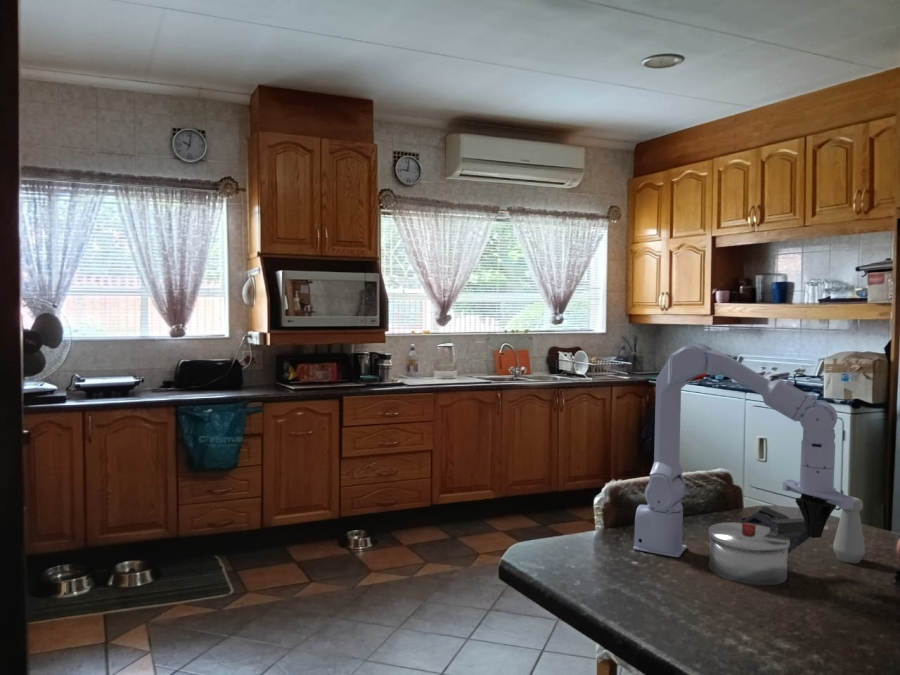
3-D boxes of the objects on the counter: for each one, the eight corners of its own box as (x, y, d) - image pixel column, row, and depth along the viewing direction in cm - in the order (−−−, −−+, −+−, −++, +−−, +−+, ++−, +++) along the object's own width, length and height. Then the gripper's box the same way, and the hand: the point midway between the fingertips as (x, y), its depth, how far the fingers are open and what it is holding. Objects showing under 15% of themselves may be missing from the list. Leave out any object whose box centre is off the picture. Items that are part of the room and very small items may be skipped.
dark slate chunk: (714, 542, 159) (715, 521, 159) (744, 521, 176) (745, 502, 176) (789, 558, 150) (790, 536, 149) (812, 534, 167) (813, 514, 167)
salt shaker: (868, 566, 144) (871, 502, 144) (838, 563, 146) (840, 500, 145) (858, 556, 150) (861, 495, 150) (828, 554, 151) (831, 493, 151)
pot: (782, 591, 130) (784, 558, 130) (702, 575, 137) (703, 544, 137) (792, 559, 147) (793, 530, 147) (720, 546, 154) (721, 519, 154)
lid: (740, 554, 131) (741, 537, 131) (693, 530, 145) (694, 514, 145) (831, 547, 136) (832, 530, 136) (777, 524, 150) (778, 509, 150)
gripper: (867, 472, 130) (863, 546, 131) (802, 456, 144) (800, 523, 144) (837, 475, 128) (834, 550, 128) (775, 458, 141) (772, 526, 142)
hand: (814, 536), depth 136 cm, fingers closed
